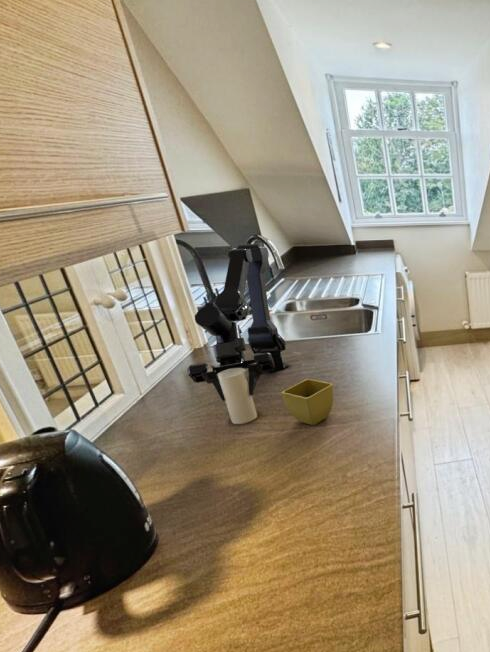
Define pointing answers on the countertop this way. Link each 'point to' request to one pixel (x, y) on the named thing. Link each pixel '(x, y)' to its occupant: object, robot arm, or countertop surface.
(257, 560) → the countertop surface
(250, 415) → the tall white cylinder
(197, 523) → the countertop surface
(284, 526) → the countertop surface
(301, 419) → the flower pot
